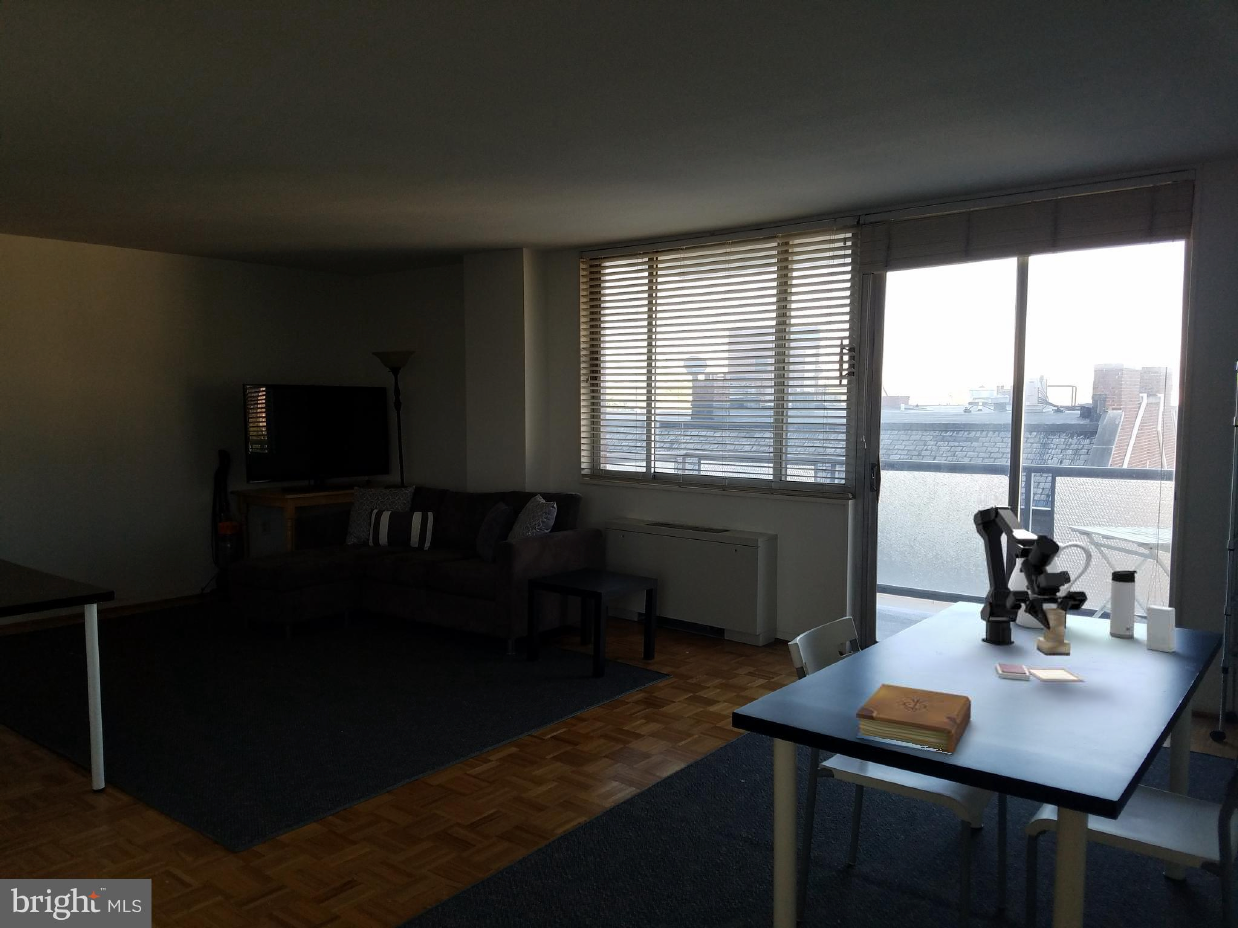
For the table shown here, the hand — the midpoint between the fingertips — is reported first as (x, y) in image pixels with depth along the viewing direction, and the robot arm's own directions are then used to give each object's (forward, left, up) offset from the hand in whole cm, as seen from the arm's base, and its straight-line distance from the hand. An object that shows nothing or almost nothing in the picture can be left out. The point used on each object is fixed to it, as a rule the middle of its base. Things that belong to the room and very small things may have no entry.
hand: (1056, 628), depth 219 cm
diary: (+14, -59, -13) cm, 62 cm away
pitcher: (-40, +45, -12) cm, 61 cm away
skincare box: (-7, +50, -12) cm, 52 cm away
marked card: (-1, +1, -12) cm, 12 cm away
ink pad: (-6, -8, -12) cm, 16 cm away
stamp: (-1, +1, -6) cm, 7 cm away
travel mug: (-22, +55, -12) cm, 60 cm away
